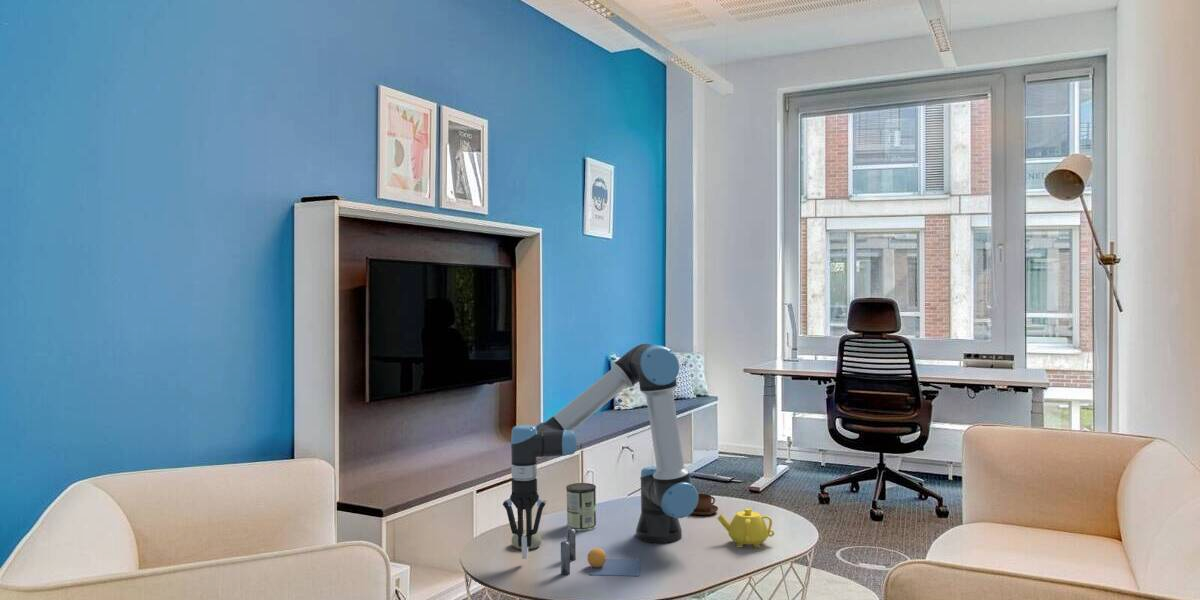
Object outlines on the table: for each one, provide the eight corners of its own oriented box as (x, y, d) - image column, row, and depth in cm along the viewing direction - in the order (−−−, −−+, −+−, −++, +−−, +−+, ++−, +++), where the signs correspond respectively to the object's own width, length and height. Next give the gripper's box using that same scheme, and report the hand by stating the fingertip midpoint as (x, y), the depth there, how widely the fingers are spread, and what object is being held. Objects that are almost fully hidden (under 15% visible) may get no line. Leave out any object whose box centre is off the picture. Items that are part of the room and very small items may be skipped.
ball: (584, 553, 235) (597, 567, 235) (582, 560, 230) (595, 574, 229) (598, 541, 235) (610, 555, 234) (596, 547, 229) (608, 562, 229)
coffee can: (577, 521, 280) (577, 481, 280) (601, 525, 274) (601, 484, 274) (560, 528, 271) (560, 487, 271) (585, 532, 266) (585, 491, 266)
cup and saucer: (696, 506, 298) (696, 490, 298) (724, 512, 290) (724, 495, 290) (678, 513, 289) (678, 496, 289) (707, 519, 281) (706, 502, 281)
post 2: (576, 557, 240) (575, 528, 240) (575, 560, 238) (574, 530, 238) (567, 557, 241) (567, 528, 241) (566, 560, 238) (566, 530, 238)
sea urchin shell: (539, 545, 247) (521, 526, 248) (522, 563, 248) (504, 543, 249) (547, 536, 256) (530, 517, 257) (530, 553, 257) (513, 534, 258)
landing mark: (640, 559, 238) (640, 559, 238) (638, 576, 224) (638, 575, 224) (594, 558, 239) (594, 558, 239) (589, 575, 225) (589, 574, 225)
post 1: (570, 572, 228) (570, 541, 228) (569, 575, 225) (569, 543, 225) (561, 571, 228) (561, 541, 228) (560, 575, 226) (560, 543, 225)
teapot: (748, 534, 263) (748, 500, 263) (778, 544, 251) (778, 509, 251) (716, 542, 255) (715, 507, 255) (745, 553, 243) (745, 517, 243)
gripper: (499, 480, 231) (500, 560, 231) (543, 481, 230) (544, 561, 230) (505, 474, 238) (506, 552, 239) (548, 475, 237) (548, 553, 237)
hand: (525, 557), depth 234 cm, fingers closed
